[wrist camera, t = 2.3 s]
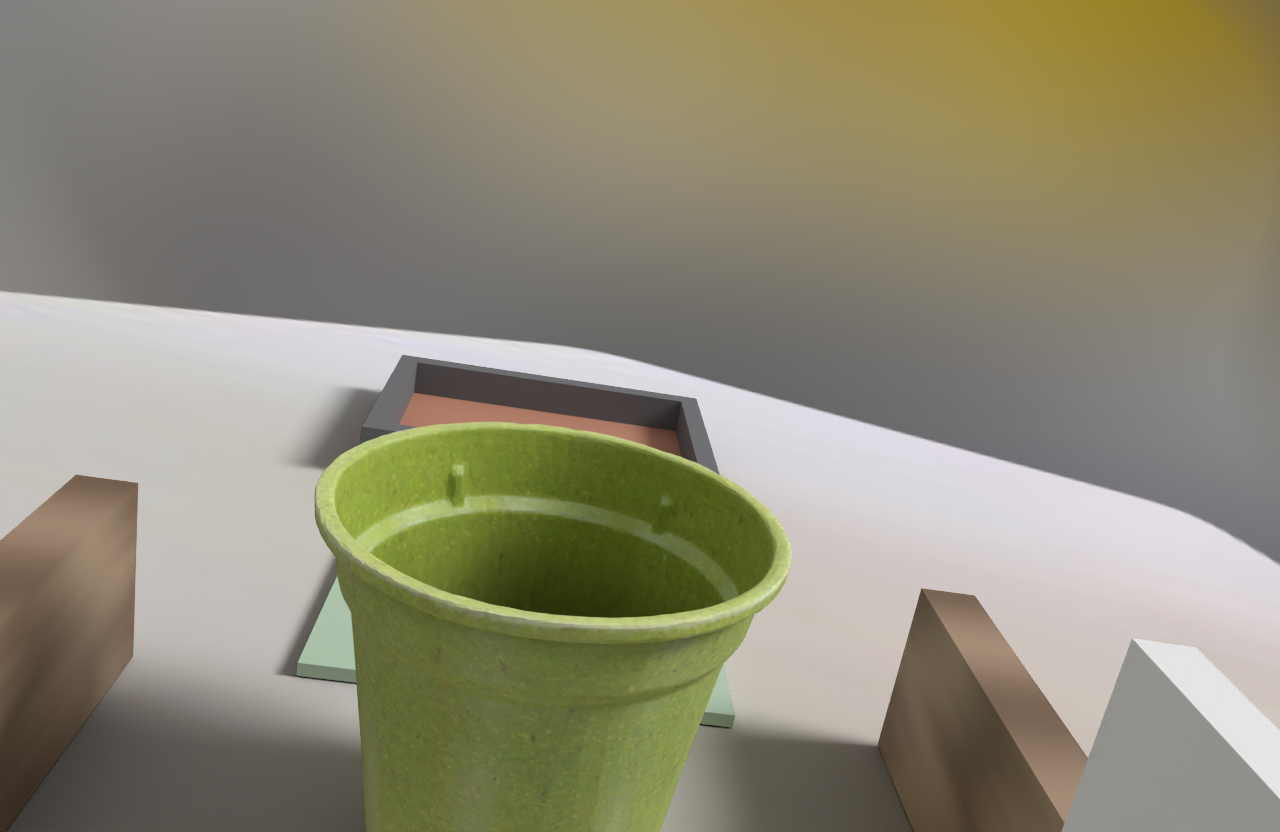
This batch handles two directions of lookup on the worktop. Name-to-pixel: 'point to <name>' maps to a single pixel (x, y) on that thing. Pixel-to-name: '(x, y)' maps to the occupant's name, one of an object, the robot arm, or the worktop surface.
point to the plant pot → (537, 620)
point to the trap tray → (535, 406)
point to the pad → (336, 661)
